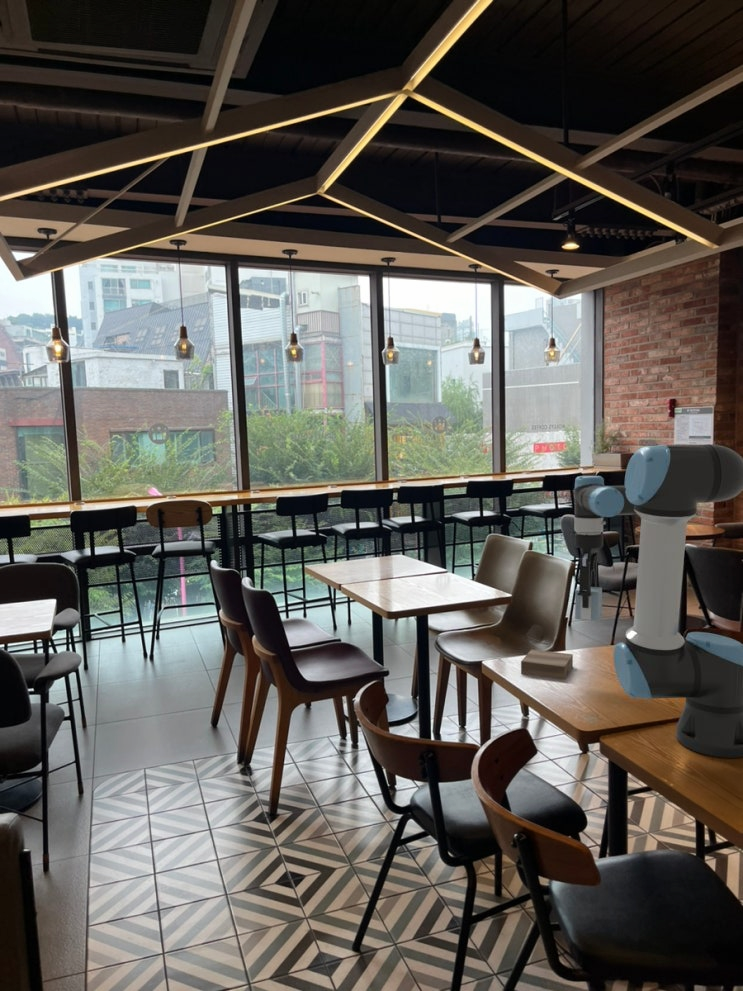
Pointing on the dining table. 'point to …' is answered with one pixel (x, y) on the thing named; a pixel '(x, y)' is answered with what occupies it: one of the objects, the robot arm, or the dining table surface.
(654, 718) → the dining table surface
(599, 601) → the slate block
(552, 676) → the walnut block
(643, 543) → the robot arm
